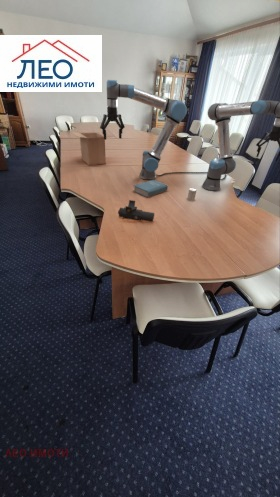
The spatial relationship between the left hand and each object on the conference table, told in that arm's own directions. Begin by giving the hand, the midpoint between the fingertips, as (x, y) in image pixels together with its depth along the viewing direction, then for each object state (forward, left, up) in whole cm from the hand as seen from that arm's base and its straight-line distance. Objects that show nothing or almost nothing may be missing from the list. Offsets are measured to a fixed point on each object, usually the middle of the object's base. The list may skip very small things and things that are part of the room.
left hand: (112, 138), depth 173 cm
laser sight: (-14, +68, -34) cm, 77 cm away
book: (-30, +22, -34) cm, 50 cm away
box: (+21, -59, -34) cm, 71 cm away
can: (-59, +36, -34) cm, 77 cm away
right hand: (-113, +31, -3) cm, 117 cm away
